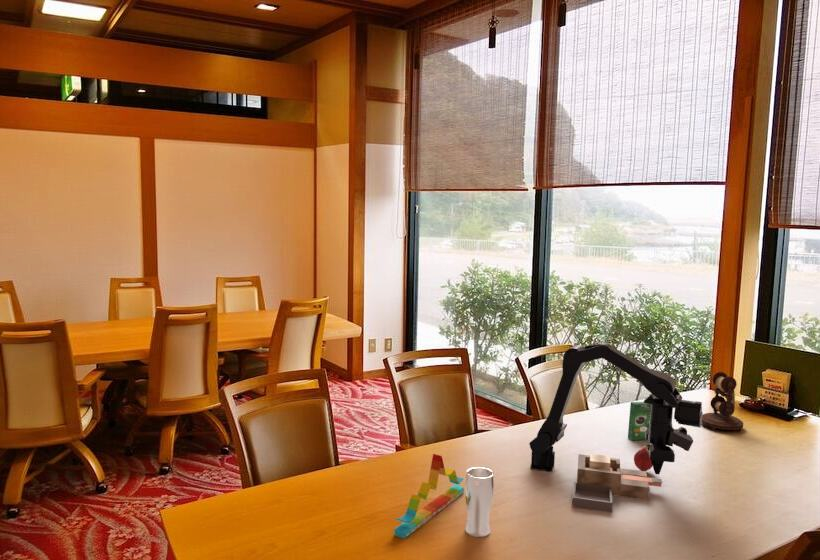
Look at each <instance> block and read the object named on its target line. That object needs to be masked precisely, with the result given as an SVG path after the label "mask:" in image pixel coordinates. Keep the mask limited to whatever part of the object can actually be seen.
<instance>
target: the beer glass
mask: <svg viewBox="0 0 820 560" xmlns="http://www.w3.org/2000/svg"><path fill="white" fill-rule="evenodd" d="M465 472H466V475H465V481H464V482H465V485H464V496H465V505H466V512H467V513H466V514H467V519H466V524H465V532H466V534H467V535H469V536H471V537H475V538H483V537H487V536H489V535H490V534H491V526H490V514H491V509H492V505H493V504H492V503H493V500H494V493H495V491H494V488H495V487H494V485H495V484H494V483H495V480H494V471H492V470H491V469H489V468H487V467H486V468H485V467H479V466H478V467H477V466H476V467H471V468H468V469H467V470H466V471H465Z"/></svg>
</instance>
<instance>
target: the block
mask: <svg viewBox="0 0 820 560" xmlns="http://www.w3.org/2000/svg"><path fill="white" fill-rule="evenodd" d="M589 455H590V466H589V468H592V469H600V470H608V471H610V458H611V456H610V455H603V454H594V453H590V454H589Z"/></svg>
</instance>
